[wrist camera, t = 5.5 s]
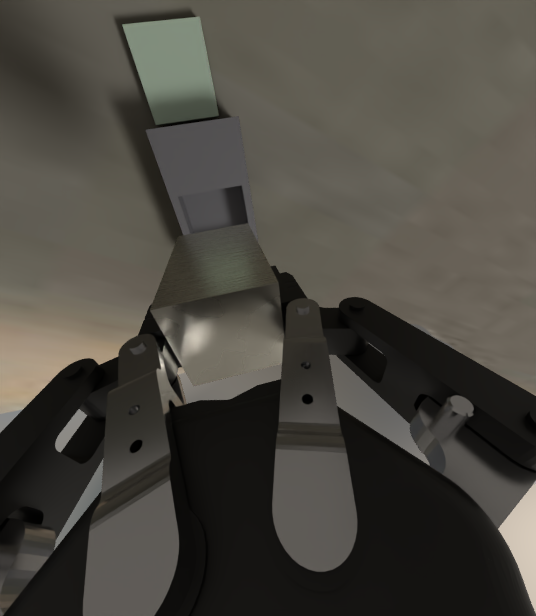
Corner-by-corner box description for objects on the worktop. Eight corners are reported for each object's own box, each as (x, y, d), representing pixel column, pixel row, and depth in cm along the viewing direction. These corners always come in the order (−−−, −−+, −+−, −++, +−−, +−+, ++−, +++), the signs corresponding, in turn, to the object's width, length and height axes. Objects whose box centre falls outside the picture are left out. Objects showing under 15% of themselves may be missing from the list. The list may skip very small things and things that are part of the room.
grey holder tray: (153, 132, 21) (145, 129, 18) (235, 121, 22) (238, 116, 19) (196, 257, 29) (195, 268, 26) (255, 245, 30) (260, 255, 27)
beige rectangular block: (178, 236, 14) (149, 310, 7) (248, 223, 14) (278, 282, 8) (200, 295, 16) (193, 386, 10) (258, 282, 17) (287, 362, 10)
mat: (124, 27, 17) (122, 24, 17) (199, 20, 18) (199, 16, 17) (156, 125, 21) (155, 124, 20) (218, 116, 21) (219, 115, 21)
